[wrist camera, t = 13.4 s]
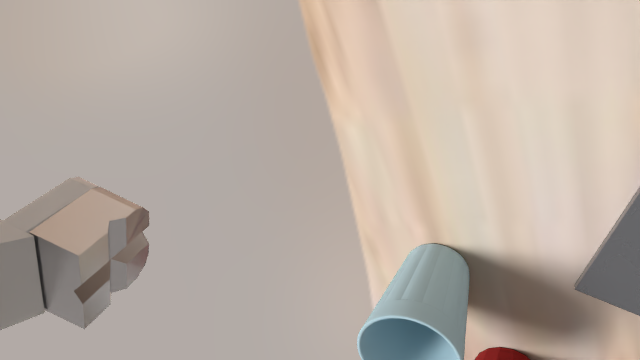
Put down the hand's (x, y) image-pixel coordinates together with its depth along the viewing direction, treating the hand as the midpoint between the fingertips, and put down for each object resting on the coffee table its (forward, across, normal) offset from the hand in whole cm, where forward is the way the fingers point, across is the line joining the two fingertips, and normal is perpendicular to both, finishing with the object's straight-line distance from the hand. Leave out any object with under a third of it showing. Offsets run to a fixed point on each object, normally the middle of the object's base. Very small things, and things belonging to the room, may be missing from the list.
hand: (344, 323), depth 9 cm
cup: (+31, -3, +24) cm, 40 cm away
